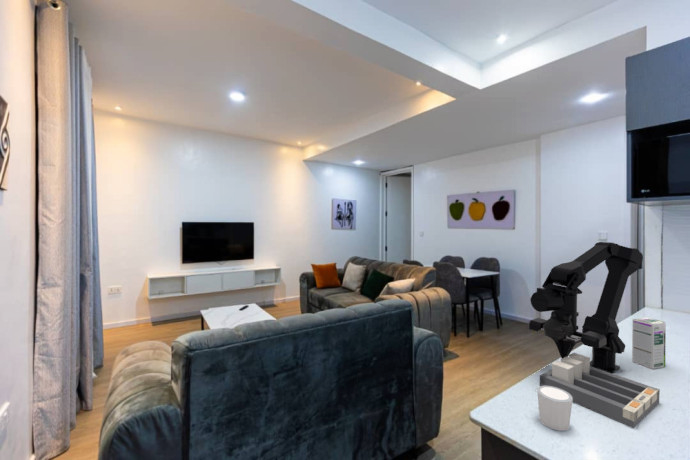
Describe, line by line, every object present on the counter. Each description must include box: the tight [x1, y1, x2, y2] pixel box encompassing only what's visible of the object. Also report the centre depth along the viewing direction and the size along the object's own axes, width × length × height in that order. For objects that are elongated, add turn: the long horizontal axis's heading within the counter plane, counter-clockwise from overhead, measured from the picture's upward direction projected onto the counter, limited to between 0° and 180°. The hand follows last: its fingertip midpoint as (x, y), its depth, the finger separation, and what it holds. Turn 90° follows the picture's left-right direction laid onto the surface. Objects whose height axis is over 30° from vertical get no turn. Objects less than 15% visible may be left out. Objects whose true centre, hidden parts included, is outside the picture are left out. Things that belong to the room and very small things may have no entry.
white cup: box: [536, 385, 573, 432], centre depth 71 cm, size 7×7×7 cm
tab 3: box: [568, 352, 591, 374], centre depth 90 cm, size 3×4×5 cm
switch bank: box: [539, 366, 661, 429], centre depth 83 cm, size 18×20×4 cm
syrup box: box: [631, 316, 667, 370], centre depth 100 cm, size 6×6×14 cm
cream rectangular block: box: [551, 360, 574, 385], centre depth 85 cm, size 3×4×5 cm
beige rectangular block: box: [560, 356, 582, 379], centre depth 88 cm, size 3×4×5 cm
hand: (564, 359), depth 94 cm, fingers closed
